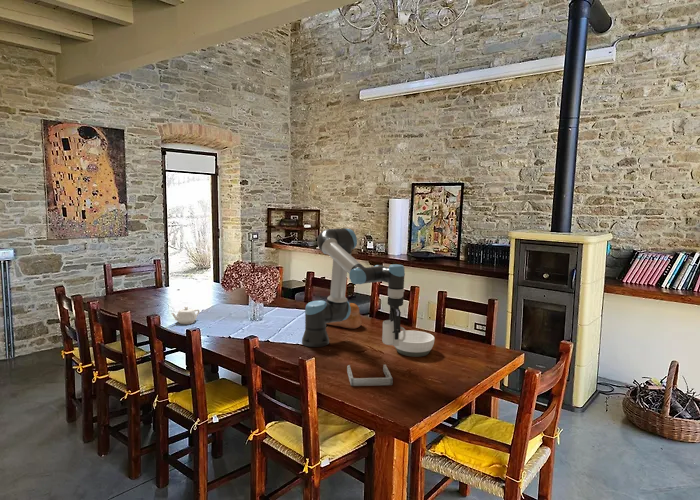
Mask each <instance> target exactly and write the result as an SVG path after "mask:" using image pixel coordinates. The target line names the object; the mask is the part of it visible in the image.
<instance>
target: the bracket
mask: <svg viewBox="0 0 700 500" xmlns="http://www.w3.org/2000/svg"><path fill="white" fill-rule="evenodd" d="M382 365H383V366H382V371H383V374H384V375H385V377H360V378H359V377H354V375H353V372H352V369H351V364H348V365H347V367H346V372H347V376H348V381H349V383H350V387H365V386H366V387H368V386H370V387H371V386H393V383H394V382H393V380H394V379H393V377H392V375H391V372H390V370H389V368H388V367H387V364H382Z"/></svg>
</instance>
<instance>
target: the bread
mask: <svg viewBox="0 0 700 500" xmlns="http://www.w3.org/2000/svg"><path fill="white" fill-rule="evenodd" d="M349 303H350V307H351V312H350V315H349V317H348V318H347V319H346V320H343V321H340V322H332V323H326V325H330V326H333V327H340V328H346V329H350V330H351V329H353V330H354V329H357V328H360V327H361V326H362V324H363V322H362V321H363V320H362V315H361V314H360V307H359V306H358V305H357V303H355V302H354V303H353V302H349Z"/></svg>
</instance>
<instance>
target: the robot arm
mask: <svg viewBox="0 0 700 500" xmlns="http://www.w3.org/2000/svg"><path fill="white" fill-rule="evenodd" d="M316 242H317V244H316V245H317V248H318V249H319V250H320V252H322V253H323V254H324V255H328V256H329V257H330V258H331V259H332V268H331V269H332V270H331V280H330V295H328V296H327V299H326V300H321V299H319V300H312V301H310V302H308V303H306V305H305V310H304V315H305V317H304V320H305V321H304V323H305V324H304V327H305V328H304V329H305V330H304V332H303V335H302V339H301V344H302V345H303V346H305V347H309V348H321V347H325V346H328V345H329V344H330V338H329V335H328V331H327V324H326V323H332V322H340V321H343V320H346V319H347V318H348V317H349V315H350V312H351V307H350V303H351V302H349V301H348V298H347V297H346V290H347V279H348V276H349V280H350V282H351V283H352V284H354V285H364V284H369V283H380V282H383V283H387V285H388V286H387V305H388V306H389V316H388V320H391V322H392V321H393V322H394V331H393V345H392V347H395V346H399V333H400V332H401V331H402V330H401V329H400V327H401V313H402V312H401V309H400V308H399V307H402V306H403V305H404V293H405V289H404V288H405V274H406V273H405V266H404V265H403V264H397V263H395V264H394V263H392V264H389V266H386V265H383V264H376V265H374V266H369V267H365V266H364V265H363V264H362V263H360V262H359V261H358V260H357V259H356V258H355V257H354V256H352V253H353V252H352V250H354V249H355V248H356V247H357V245H358V237H357V235H356V233H355V231H354V230H352V229H351V228H345V227H344V228H327V229H324V230H322V231H320V233H319V235H318V236H317V241H316Z"/></svg>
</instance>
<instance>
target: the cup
mask: <svg viewBox="0 0 700 500" xmlns="http://www.w3.org/2000/svg"><path fill="white" fill-rule="evenodd" d="M400 330H401V331H403V333H404V336H403V339H399V341H400V342H401V341H404V340H405V338H406V331H407V330H406V329H405V328H404V327H403V326H400ZM393 331H394V322H393V321H392V322H391V320H389V319H386V320H383V321H382V335H381V339H382V341H381V342H382V343H383V344H384V345H387V346H393ZM399 337H400V333H399Z"/></svg>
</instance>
